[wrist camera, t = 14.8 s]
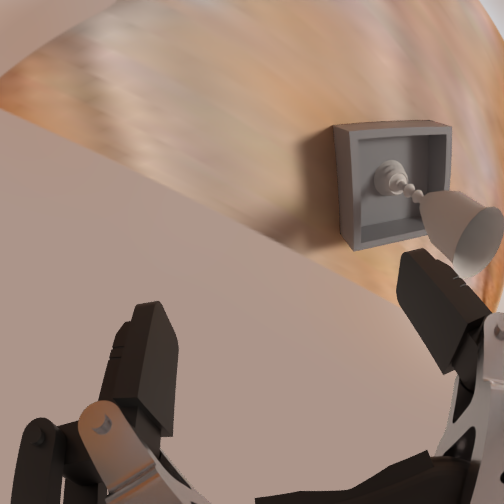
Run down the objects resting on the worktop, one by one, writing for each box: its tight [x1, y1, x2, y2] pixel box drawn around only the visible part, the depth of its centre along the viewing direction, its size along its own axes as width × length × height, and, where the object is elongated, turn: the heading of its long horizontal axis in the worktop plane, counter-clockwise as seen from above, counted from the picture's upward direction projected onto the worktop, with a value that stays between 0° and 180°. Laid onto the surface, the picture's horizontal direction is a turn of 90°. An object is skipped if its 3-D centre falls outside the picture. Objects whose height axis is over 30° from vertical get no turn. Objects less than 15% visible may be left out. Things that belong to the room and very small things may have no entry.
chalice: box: [374, 160, 504, 279], centre depth 28 cm, size 7×7×18 cm
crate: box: [333, 120, 452, 252], centre depth 35 cm, size 15×15×5 cm
